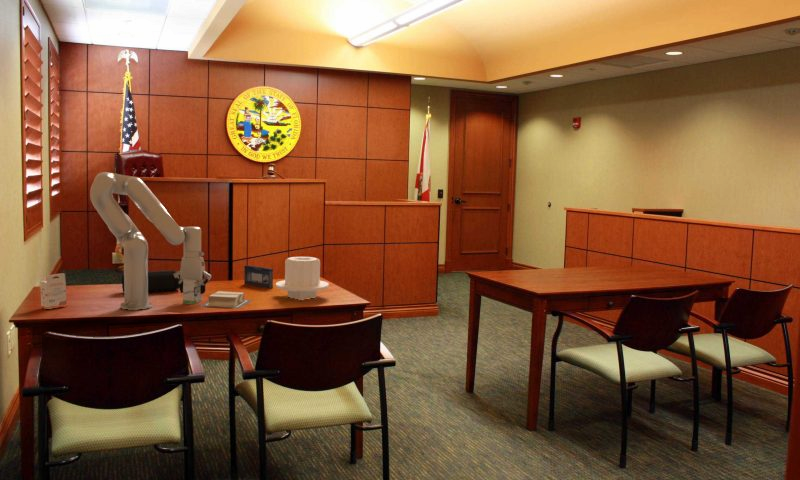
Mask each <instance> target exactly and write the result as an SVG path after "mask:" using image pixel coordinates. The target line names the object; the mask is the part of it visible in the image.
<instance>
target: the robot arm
mask: <svg viewBox="0 0 800 480" xmlns="http://www.w3.org/2000/svg"><path fill="white" fill-rule="evenodd" d="M114 194H117V195H123V196H128V197H129V199H130V200H131V201H132V202H133V204H135V206H136V207H137V208H138V209H139V210H140V211H141V213H142V214H143V215H144V216H145V218H146V219H147V220H148V221H149V222H151V223H152V224H153V226H154V227H155V228H156V229H157V230H158V231H159V232H160V234H161V235H163V237H164V238H165V240H166V241H167V242H168V243H169V244H170V245H173V246H180V245H181V244H182V243H183V256H182V258H181V262H180V268H179V269H180V270H178V271H177V272H176V273H174V277H175V278H176V280H177V281H178V283H179V284H180V288H179V291H180V294H183V280H184V279H191V280H199V281H200V283H201V286H200V294H202V295H203V294H205V293H206V285H207V284H208V283H209V281H210V280H211V278H212V274H210V273H208V272H207V271H206V264H205V260H204V257H203V256H205V252H203V251H202V228H201V227H199V226H180V225H179V224H178V223H177V222H176V221H175V219H174V218H173V217H172V216H171V215H170V213H169V212H168V211H167V209H166V208H165V206H164V205H163V204H162V203H161V201H160V200H159V198H157V196H156V195H155V194H154V193H153V192H152V190H151V189H150V188H149V187H148V185H146V183H145V182H144V181H143V180H142V179H141V178H140V177H137V176H131V175H124V174H119V173H113V172H109V171H102V172H99V173H97V175H96V176H95V177H94V180H93V182H92V184H91V186H90V190H89V198H90V202H91V204H92V206H93V207H94V209H95V210H96V211H97V213H98V215H99V217H101V219H102V220H103V222H104V223H105V224H106V226H107V228H108V229H109V231H110V232H111V234H113V236H114V237H115V238H116V240H117V241H118V242H119V244H121V246H122V247H123V274H124V292H123V293H124V296H123V297H124V301H123V302H121V303H120V309H121V308H123V309H122V310H124V309H128V310H127V311H139V310H138V309H143V310H147V308H148V309H151V308H153V304H152V303H151V302H149V292H148V271H149V266H148V265H149V244H148V241H147V239H146V238H145V236H144V235H143V233H142V232H141V231H140V230H139V229H138V227H137V226H136V224H135V223H134V222H133V220H132V218H130V216H129V215H128V214H127V213H125V212H124V210H123V208H121V206H120V204H119V203H118V202H117V200H116V199H115V198H114ZM179 274H180V278H179V277H178V275H179Z"/></svg>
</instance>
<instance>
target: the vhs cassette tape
mask: <svg viewBox="0 0 800 480" xmlns="http://www.w3.org/2000/svg"><path fill="white" fill-rule="evenodd" d="M243 268H244V271H243V273H244V277H243V280H244V285H248V286H252V287H253V286H254V287H260V288H265V289H269V290H270V289H273V288H274V284H273V283H274V268H269V267H262V266H256V265H249V264H247V265H244V267H243Z"/></svg>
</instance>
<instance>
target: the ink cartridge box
mask: <svg viewBox="0 0 800 480" xmlns="http://www.w3.org/2000/svg"><path fill="white" fill-rule="evenodd" d="M45 278H46V280H41V281H40V304H41V306H45V307H51V306H58V305H65V304H67V281H66V273H64V272H61V273H55V274H48V275H46V276H45Z"/></svg>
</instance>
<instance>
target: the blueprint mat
mask: <svg viewBox="0 0 800 480" xmlns="http://www.w3.org/2000/svg"><path fill="white" fill-rule="evenodd" d="M251 302H253V300H252V299H244V302H242V303H240V304H239V305H237V306H235V307H232V306H215V305H209V300H208V301H207V302H204V303H203V304H201V305H200V307H205V308H206V307H208V308H221V309H224V308H225V309H241V308H242V307H245V306H246V305H248V304H249V303H251Z"/></svg>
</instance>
